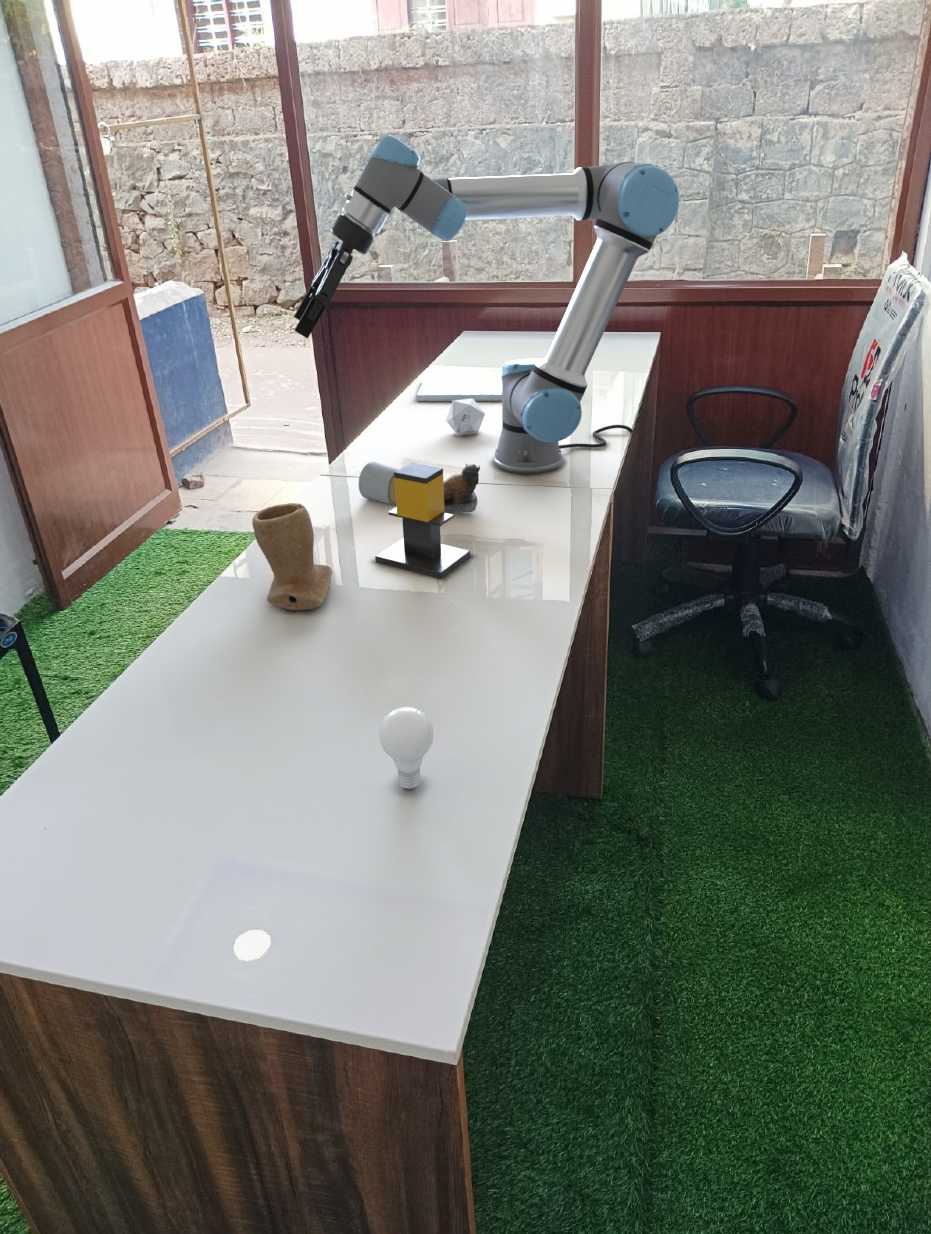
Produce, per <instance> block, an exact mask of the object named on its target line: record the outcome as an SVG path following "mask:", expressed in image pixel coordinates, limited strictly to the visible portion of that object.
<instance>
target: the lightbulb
mask: <svg viewBox="0 0 931 1234" xmlns="http://www.w3.org/2000/svg"><path fill="white" fill-rule="evenodd" d="M378 731H379V733H378V737H379V738H378V739H379V742H380V744H381V747H382V749H383V750H384V752H385V753H386V754H387V755H388V756H389V757H390V758H391V759H392V760H393V763H394V766H395V767H396V769H397V778H398V779H397V780H398V785H399V786H400V787H401V788H404V789H406V790H407V789H408V790H411V789H415V788H418V786H419V785H420V784H421V781H422V780H421V766H422V763H423V758H424V756H425V755H426V754H427V753H428V752H429V750H430V748H431V746H432V744H433V741H434V727H433V724H432V721H431V720H430V718H429V716H428V715H427V714H426V713H424V712H423V711H422V710H421V709H419V708H416V707H414V706H399V707H396V708H394V709H393V710H391V711H389V712H388V713H387V714H386V715H385V717H384V718H383V720H382V721H381V724H380V726H379V730H378Z"/></svg>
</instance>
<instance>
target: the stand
mask: <svg viewBox="0 0 931 1234" xmlns="http://www.w3.org/2000/svg"><path fill="white" fill-rule="evenodd" d="M387 515H388V516H392V517H396V518H400V519H402V521H401V522H402V536H403V537H401V538H400V539H399V540H397V541H395V542H394V543H393V544H390V546H388V547H387V548H385V549H384V550H381V552H379V553H377V554H376V555H375V556H374V559H375V560H374V561H375V563H379V564H383V565H387V566H390V567H394V568H399V569H402V570H407V571H410V572H414V573H418V574H421V575H425V576H429V577H434V578H436V579H437V578H438V579H443V578H444V577H445V576H447V575H448V574H449V573H451V572H452V571H453V570H454V569H456V568H457V567H458V566H460V565H461V564H462V563H464V562H465V561H467V560H468V559H469V558H471V550H470V549H465V548H460V547H458V546H457V547H456V546H452V545H447V544H444V543H442V539H441V538H442V537H441V527H443V526H444V525H445V524H448V522H450V521H451V520H453V519H454V518H455V515H454V514H452V513H449V512H442V513H441V514H439V515H438V516H436V517H435V518H433V519H432V520H430V521H429V522H425V521H421V520H416V519H412V518H407V517H403V516H398V515H397V509H396V507H393V508H392V509H391V510H388V512H387Z"/></svg>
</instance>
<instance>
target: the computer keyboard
mask: <svg viewBox="0 0 931 1234" xmlns="http://www.w3.org/2000/svg"><path fill="white" fill-rule="evenodd" d="M471 398H473V399H474V400H475V402H477V401H478V402H481V401H482V402H483V401H485V402H488V401H489V402H490V401H493V402H494V401H495V402H496V401H497V402H498V401H499V402H502V380H458V381H457V380H451V381H450V380H449V381H448V380H444V381H441V380H440V381H439V380H438V381H436V380H435V381H433V380H432V381H431V380H430V381H429V380H428V381H427V380H426V381H425V380H424V381H422V383H421V385H420V387H419V389H418V391H417V393H416V401H417V402H452V401H455V400H463V399H471Z"/></svg>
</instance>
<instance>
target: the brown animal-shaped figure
mask: <svg viewBox="0 0 931 1234" xmlns="http://www.w3.org/2000/svg"><path fill="white" fill-rule="evenodd" d="M480 470H481V465H478V466H477V465H476V464H475V463H471V464H468V463H465V466H464V467H463V469H462V471H461V472H460V474H459V473H455V474H452V475H451V476H449V477H447V478H446V479H445V480H443V485H444V512H443V513H472V512H475V511H476V510H477V505H478V502H479V501H478V500H479V499H478V497H477V494H476V492H475V489H476V487H477V486H478V484H479V481H480V477H479V475H480V474H479V472H480Z"/></svg>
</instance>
